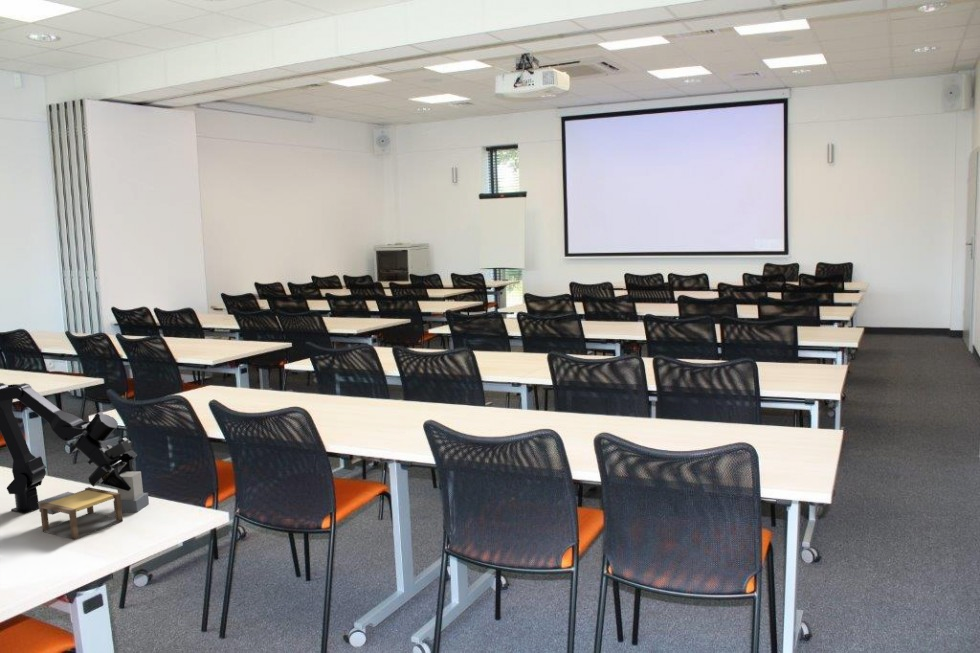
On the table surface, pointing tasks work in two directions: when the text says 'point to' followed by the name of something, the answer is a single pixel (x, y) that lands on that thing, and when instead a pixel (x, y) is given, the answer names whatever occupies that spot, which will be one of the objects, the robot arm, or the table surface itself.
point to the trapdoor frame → (80, 518)
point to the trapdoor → (77, 500)
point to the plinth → (134, 504)
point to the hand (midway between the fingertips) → (134, 486)
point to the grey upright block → (131, 485)
